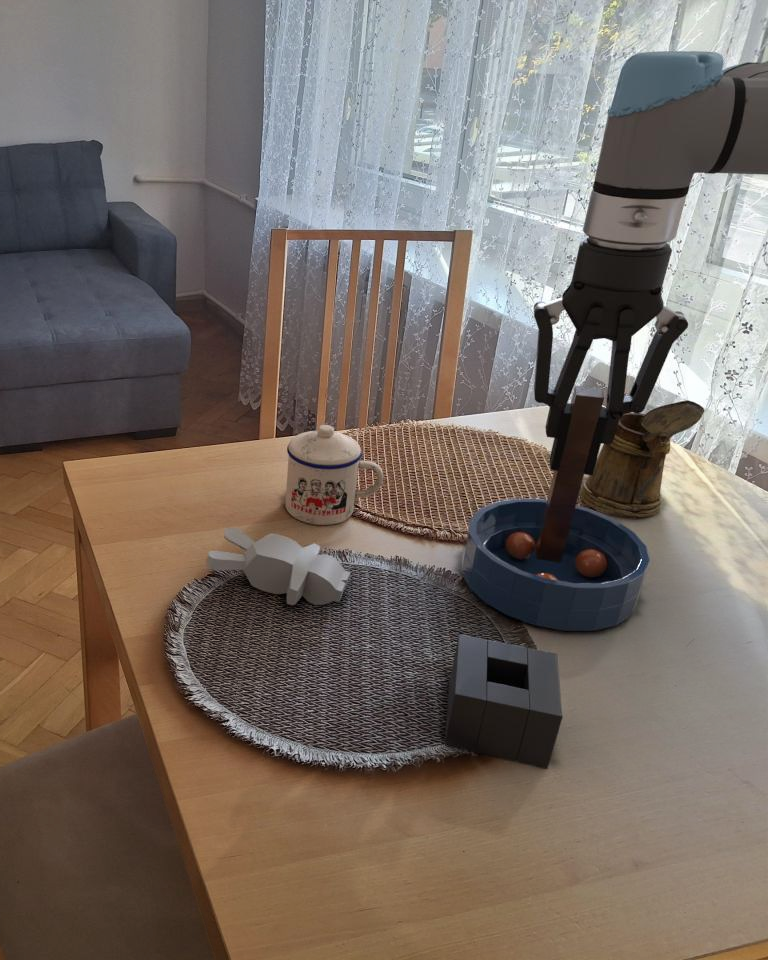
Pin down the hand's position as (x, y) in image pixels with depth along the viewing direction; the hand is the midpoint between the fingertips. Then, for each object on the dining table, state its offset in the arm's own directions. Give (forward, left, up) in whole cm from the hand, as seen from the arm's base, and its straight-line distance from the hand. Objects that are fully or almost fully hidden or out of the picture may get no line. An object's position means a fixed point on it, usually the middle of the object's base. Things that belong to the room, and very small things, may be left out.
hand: (570, 466), depth 90 cm
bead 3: (-4, -1, -12) cm, 13 cm away
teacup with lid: (+25, -7, -14) cm, 30 cm away
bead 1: (+3, -2, -12) cm, 12 cm away
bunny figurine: (+28, +11, -14) cm, 33 cm away
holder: (+5, +26, -14) cm, 30 cm away
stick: (0, -1, -12) cm, 12 cm away
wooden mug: (-10, -18, -14) cm, 25 cm away
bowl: (0, +2, -14) cm, 14 cm away
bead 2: (0, +6, -12) cm, 13 cm away
